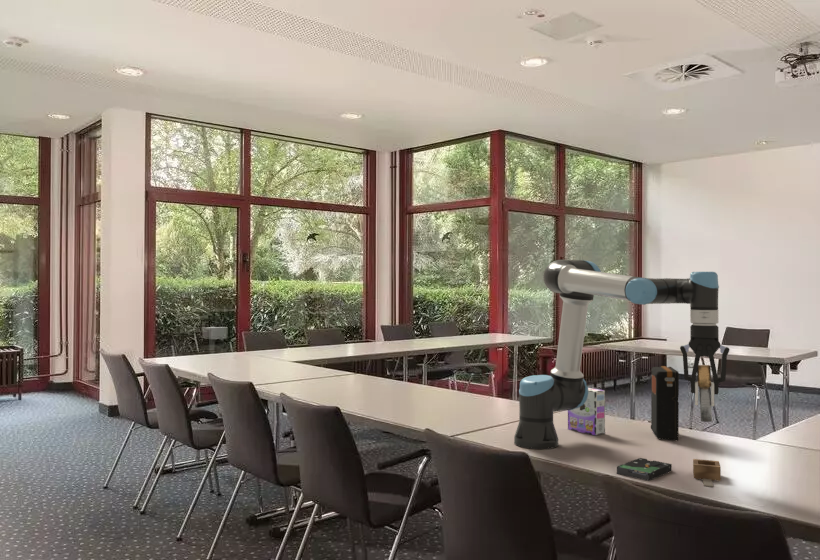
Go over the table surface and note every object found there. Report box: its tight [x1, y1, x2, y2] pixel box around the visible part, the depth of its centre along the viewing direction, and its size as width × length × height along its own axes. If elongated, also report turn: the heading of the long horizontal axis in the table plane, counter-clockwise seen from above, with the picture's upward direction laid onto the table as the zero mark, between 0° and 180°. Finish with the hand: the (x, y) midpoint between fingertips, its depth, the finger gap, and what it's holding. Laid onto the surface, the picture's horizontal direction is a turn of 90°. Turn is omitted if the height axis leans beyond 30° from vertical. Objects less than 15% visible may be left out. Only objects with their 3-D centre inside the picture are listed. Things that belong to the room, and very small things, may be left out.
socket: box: [692, 458, 722, 482], centre depth 199 cm, size 7×7×4 cm
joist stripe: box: [702, 478, 714, 488], centre depth 199 cm, size 2×21×1 cm, turn 159°
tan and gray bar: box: [696, 364, 713, 423], centre depth 198 cm, size 4×4×16 cm
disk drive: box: [616, 457, 672, 482], centre depth 204 cm, size 10×3×15 cm
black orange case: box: [650, 365, 680, 441], centre depth 252 cm, size 16×9×25 cm, turn 168°
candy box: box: [567, 387, 606, 436], centre depth 259 cm, size 14×6×16 cm, turn 34°
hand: (704, 404), depth 199 cm, fingers closed on tan and gray bar, 4 cm apart
